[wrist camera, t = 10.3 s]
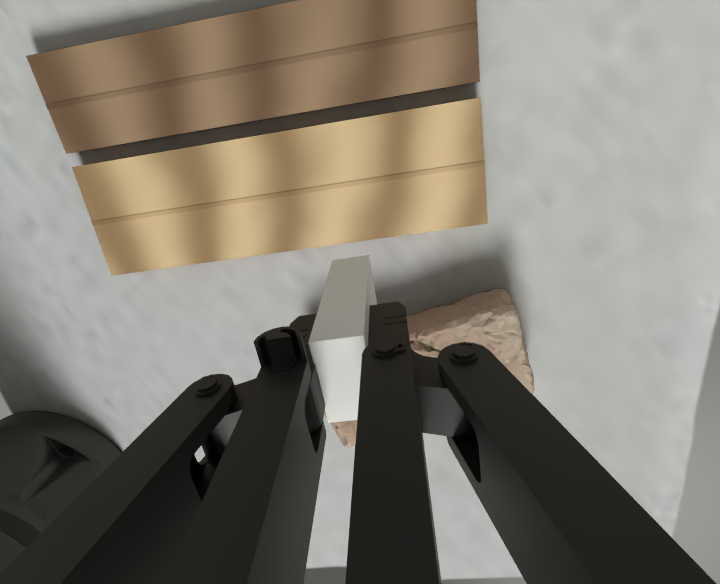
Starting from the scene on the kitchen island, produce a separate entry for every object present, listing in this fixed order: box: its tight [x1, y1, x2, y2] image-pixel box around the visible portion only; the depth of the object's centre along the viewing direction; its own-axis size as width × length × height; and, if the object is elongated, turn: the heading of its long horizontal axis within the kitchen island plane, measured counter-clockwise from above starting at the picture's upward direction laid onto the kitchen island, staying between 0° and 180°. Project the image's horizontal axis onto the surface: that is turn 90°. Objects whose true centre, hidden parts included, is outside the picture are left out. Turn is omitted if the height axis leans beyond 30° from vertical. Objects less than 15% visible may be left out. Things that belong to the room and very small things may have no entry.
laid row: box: [26, 0, 480, 154], centre depth 27 cm, size 28×6×1 cm, turn 99°
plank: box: [72, 98, 488, 275], centre depth 30 cm, size 28×8×1 cm, turn 99°
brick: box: [324, 288, 534, 447], centre depth 34 cm, size 16×8×5 cm, turn 111°
